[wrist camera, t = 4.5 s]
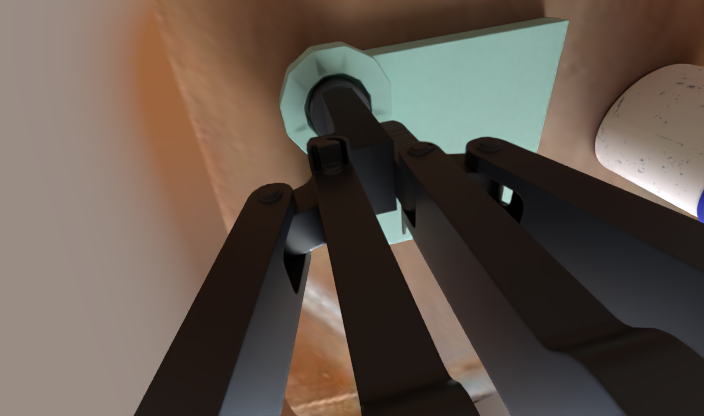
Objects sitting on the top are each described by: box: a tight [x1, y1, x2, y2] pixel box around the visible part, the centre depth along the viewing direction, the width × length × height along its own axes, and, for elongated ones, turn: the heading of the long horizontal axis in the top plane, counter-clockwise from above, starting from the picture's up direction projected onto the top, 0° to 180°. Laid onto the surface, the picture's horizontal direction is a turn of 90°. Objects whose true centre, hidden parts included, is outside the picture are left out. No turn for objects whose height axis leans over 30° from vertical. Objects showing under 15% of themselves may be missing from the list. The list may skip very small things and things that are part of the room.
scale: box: [279, 17, 569, 244], centre depth 21 cm, size 17×15×4 cm
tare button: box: [309, 76, 370, 135], centre depth 16 cm, size 3×3×2 cm
